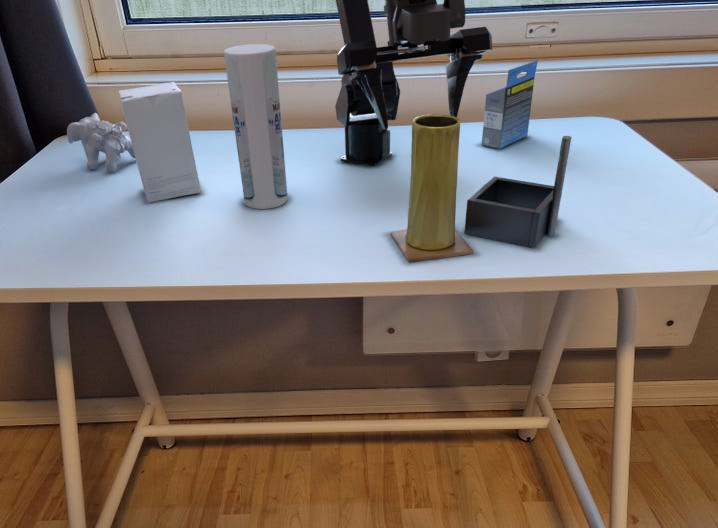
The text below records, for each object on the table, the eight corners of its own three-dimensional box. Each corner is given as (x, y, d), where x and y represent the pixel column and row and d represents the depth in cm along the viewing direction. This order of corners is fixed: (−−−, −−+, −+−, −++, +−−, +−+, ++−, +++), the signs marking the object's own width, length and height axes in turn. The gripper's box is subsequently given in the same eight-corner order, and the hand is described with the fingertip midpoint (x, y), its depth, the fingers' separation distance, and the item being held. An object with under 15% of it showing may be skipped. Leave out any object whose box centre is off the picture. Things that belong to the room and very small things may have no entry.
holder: (464, 233, 80) (472, 137, 73) (490, 208, 86) (500, 117, 79) (542, 250, 75) (559, 149, 68) (564, 222, 82) (582, 126, 74)
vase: (409, 228, 81) (412, 112, 73) (457, 231, 80) (467, 113, 71) (401, 249, 76) (404, 127, 68) (452, 253, 75) (462, 129, 67)
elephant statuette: (126, 174, 103) (114, 126, 99) (56, 175, 104) (41, 127, 100) (145, 155, 111) (135, 109, 106) (79, 156, 112) (66, 111, 107)
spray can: (244, 193, 94) (224, 45, 82) (288, 190, 94) (275, 42, 83) (243, 211, 89) (222, 55, 77) (289, 207, 89) (275, 52, 78)
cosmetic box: (195, 181, 99) (177, 80, 90) (202, 194, 95) (184, 89, 86) (140, 190, 97) (117, 87, 88) (145, 204, 92) (120, 97, 84)
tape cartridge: (508, 132, 113) (517, 57, 105) (528, 136, 110) (538, 59, 103) (480, 145, 108) (487, 67, 100) (500, 150, 105) (509, 70, 98)
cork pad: (390, 234, 81) (390, 231, 81) (450, 226, 82) (450, 223, 82) (408, 262, 74) (409, 259, 74) (473, 253, 76) (473, 250, 75)
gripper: (345, -23, 69) (363, 129, 73) (507, -41, 71) (515, 108, 76) (328, 4, 79) (345, 135, 84) (470, -13, 81) (479, 116, 86)
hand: (420, 124), depth 82 cm, fingers open, 9 cm apart
